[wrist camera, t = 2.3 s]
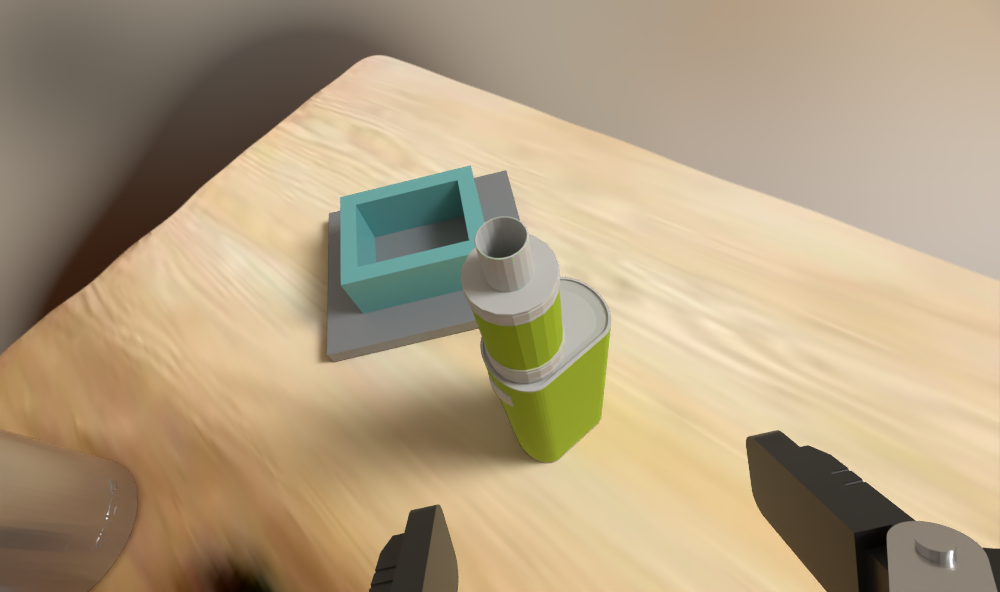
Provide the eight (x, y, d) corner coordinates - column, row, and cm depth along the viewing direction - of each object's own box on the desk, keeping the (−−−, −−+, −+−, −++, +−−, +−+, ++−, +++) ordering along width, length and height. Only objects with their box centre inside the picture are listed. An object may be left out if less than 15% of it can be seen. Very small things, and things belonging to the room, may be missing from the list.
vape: (503, 429, 31) (411, 240, 14) (571, 371, 33) (559, 137, 16) (541, 475, 30) (486, 319, 13) (611, 411, 31) (646, 195, 14)
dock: (334, 362, 36) (299, 330, 31) (334, 222, 43) (306, 180, 39) (543, 312, 35) (538, 273, 31) (508, 180, 43) (499, 133, 38)
